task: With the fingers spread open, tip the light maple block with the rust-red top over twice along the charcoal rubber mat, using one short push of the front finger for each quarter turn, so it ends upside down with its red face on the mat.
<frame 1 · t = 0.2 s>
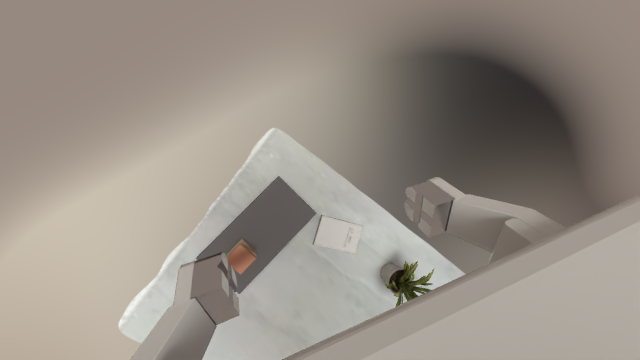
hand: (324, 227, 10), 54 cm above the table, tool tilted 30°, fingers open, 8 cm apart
rubber mat: (259, 234, 63), on the table
house plant: (391, 273, 73), on the table
maple block: (242, 252, 61), point 1 cm above the table, touching rubber mat
external hard drive: (337, 233, 69), on the table
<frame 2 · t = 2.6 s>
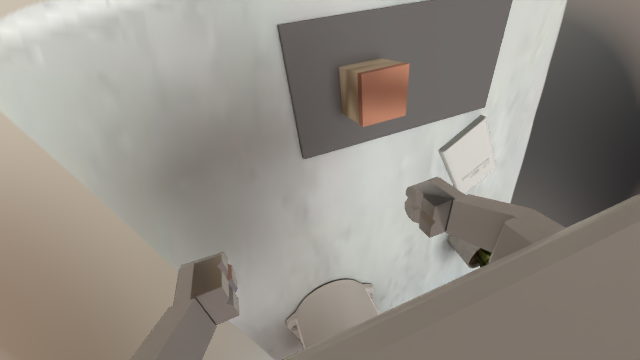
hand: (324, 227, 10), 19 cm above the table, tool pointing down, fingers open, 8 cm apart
rubber mat: (403, 75, 29), on the table
house plant: (457, 236, 54), on the table
maple block: (361, 86, 28), point 1 cm above the table, touching rubber mat
external hard drive: (464, 156, 42), on the table
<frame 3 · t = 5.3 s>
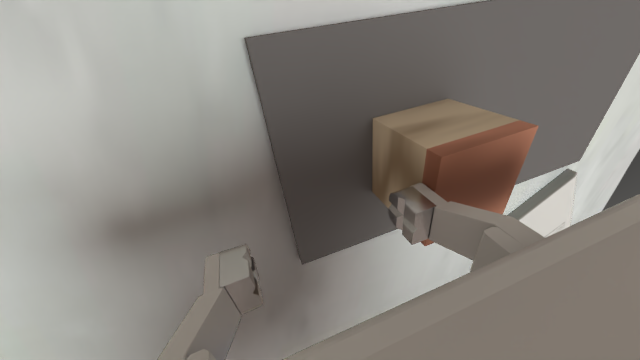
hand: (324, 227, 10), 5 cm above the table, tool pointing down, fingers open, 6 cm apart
rubber mat: (476, 122, 17), on the table
maple block: (408, 147, 15), point 1 cm above the table, touching gripper, rubber mat
external hard drive: (529, 218, 29), on the table
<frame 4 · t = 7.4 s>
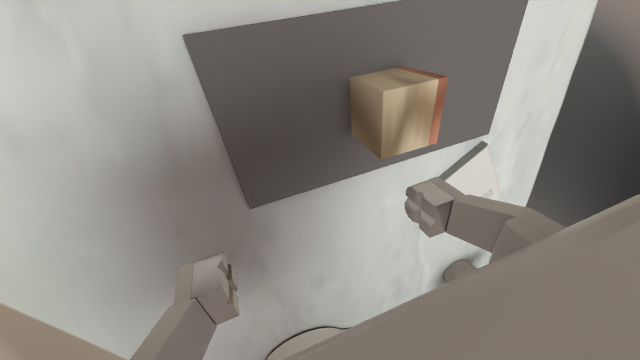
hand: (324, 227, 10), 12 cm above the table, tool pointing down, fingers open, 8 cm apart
rubber mat: (381, 98, 22), on the table
house plant: (454, 271, 47), on the table
maple block: (364, 117, 19), point 3 cm above the table, tilted 90°, touching rubber mat
external hard drive: (461, 186, 34), on the table
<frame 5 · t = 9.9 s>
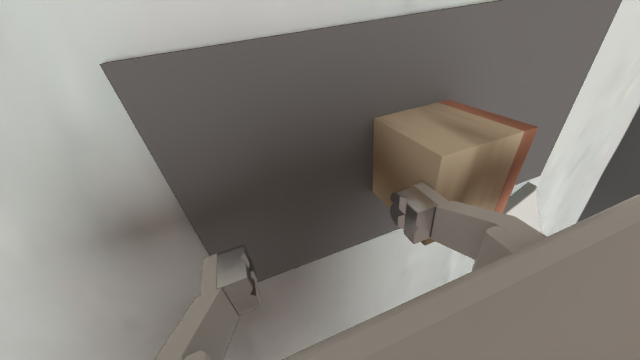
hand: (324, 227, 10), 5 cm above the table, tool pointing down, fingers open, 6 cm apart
rubber mat: (413, 141, 16), on the table
maple block: (398, 178, 13), point 3 cm above the table, tilted 90°, touching gripper, rubber mat
external hard drive: (496, 231, 28), on the table
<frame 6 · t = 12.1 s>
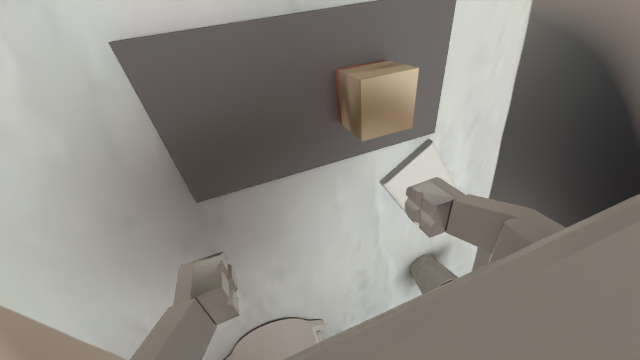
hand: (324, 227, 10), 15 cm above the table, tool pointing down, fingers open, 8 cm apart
rubber mat: (318, 99, 23), on the table
house plant: (421, 266, 48), on the table
maple block: (389, 106, 20), point 6 cm above the table, tilted 180°, touching rubber mat
external hard drive: (416, 182, 36), on the table
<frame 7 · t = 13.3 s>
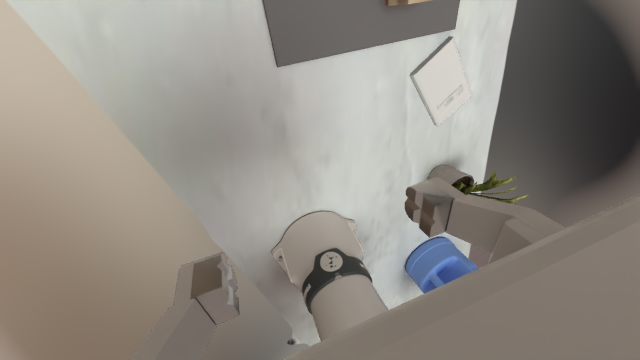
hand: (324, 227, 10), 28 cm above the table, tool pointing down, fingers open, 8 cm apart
house plant: (438, 178, 56), on the table
water jug: (426, 254, 73), on the table
external hard drive: (438, 84, 43), on the table
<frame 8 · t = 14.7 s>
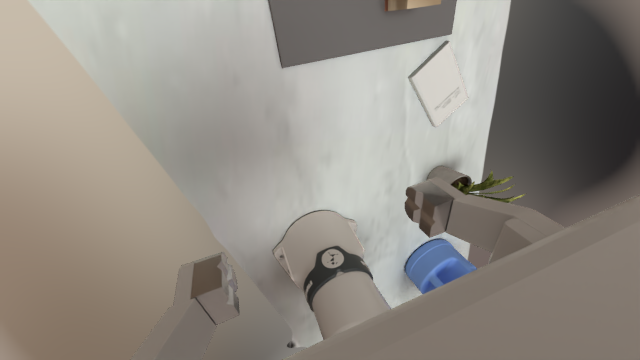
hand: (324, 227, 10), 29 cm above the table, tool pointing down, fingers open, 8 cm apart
house plant: (436, 179, 57), on the table
water jug: (425, 256, 74), on the table
external hard drive: (435, 86, 45), on the table
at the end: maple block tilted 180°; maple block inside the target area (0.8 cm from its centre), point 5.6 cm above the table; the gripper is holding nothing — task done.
